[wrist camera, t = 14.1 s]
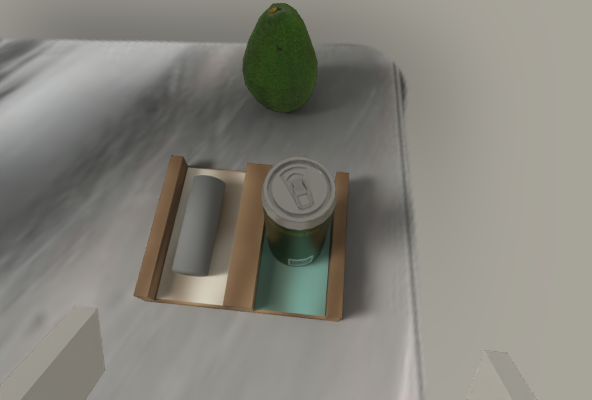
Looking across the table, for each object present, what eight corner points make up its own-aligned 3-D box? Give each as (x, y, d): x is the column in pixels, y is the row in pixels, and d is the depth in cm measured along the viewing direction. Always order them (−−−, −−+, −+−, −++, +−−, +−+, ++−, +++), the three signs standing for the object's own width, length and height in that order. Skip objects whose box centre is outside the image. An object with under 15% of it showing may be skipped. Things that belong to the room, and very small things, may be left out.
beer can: (331, 258, 36) (350, 211, 25) (277, 276, 35) (273, 235, 24) (312, 209, 38) (322, 145, 27) (261, 225, 37) (250, 165, 26)
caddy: (145, 300, 35) (133, 295, 32) (179, 169, 41) (171, 155, 38) (337, 321, 35) (341, 317, 32) (344, 186, 40) (348, 172, 38)
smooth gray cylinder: (212, 277, 35) (200, 269, 32) (180, 275, 35) (165, 266, 32) (229, 190, 39) (220, 175, 36) (199, 189, 39) (188, 174, 36)
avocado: (302, 67, 47) (307, -24, 36) (322, 118, 44) (334, 35, 33) (240, 81, 46) (225, -9, 35) (256, 133, 43) (245, 53, 32)
